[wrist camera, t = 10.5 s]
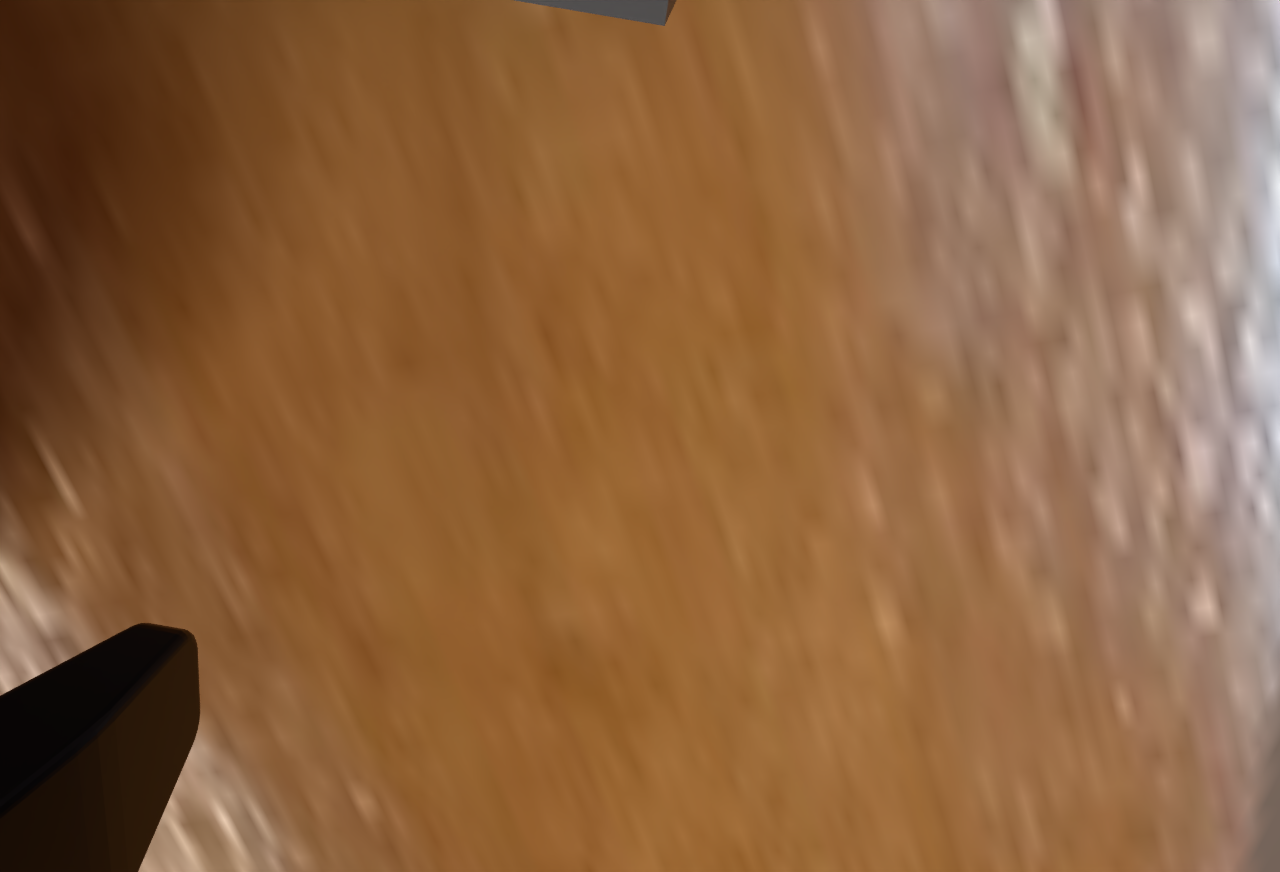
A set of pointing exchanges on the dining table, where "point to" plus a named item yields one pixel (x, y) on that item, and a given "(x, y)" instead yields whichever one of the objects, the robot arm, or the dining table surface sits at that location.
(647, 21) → the serving tray
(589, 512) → the dining table surface
